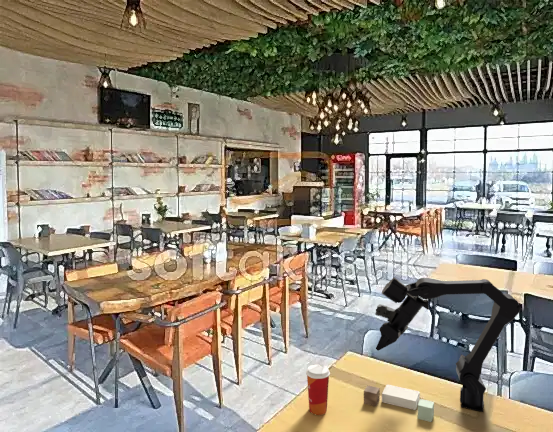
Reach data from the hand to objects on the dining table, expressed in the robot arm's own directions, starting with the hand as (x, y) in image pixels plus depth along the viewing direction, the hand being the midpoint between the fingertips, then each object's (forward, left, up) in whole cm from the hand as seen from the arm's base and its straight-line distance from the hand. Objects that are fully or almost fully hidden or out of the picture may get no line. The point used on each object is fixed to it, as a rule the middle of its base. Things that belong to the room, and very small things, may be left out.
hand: (380, 346), depth 147 cm
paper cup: (+15, +18, -18) cm, 30 cm away
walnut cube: (+1, +5, -18) cm, 18 cm away
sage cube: (-16, +6, -18) cm, 25 cm away
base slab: (-7, 0, -17) cm, 19 cm away
